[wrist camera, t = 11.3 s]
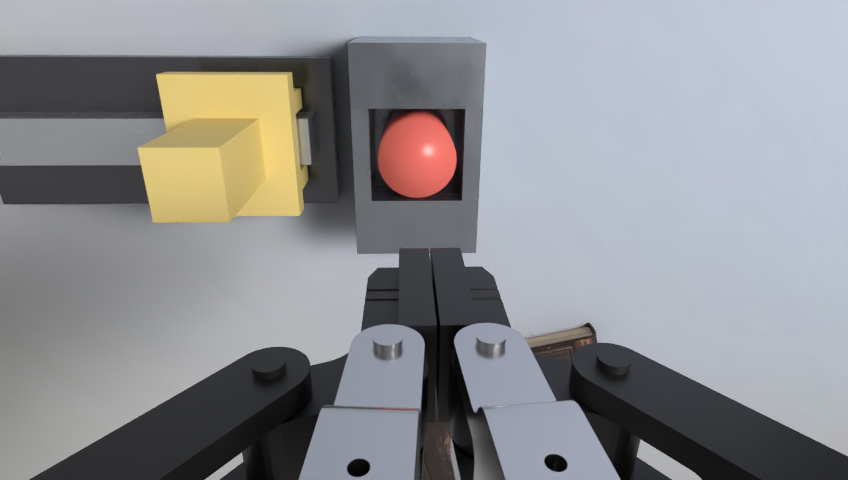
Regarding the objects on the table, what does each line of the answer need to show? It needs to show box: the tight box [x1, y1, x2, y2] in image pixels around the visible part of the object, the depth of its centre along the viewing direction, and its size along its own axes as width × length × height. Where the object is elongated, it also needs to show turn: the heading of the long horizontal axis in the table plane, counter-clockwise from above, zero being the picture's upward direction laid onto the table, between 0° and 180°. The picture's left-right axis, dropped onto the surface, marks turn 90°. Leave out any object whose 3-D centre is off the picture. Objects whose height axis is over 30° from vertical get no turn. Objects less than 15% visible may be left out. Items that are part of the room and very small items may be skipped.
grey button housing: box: [347, 37, 486, 254], centre depth 27 cm, size 10×6×6 cm, turn 0°
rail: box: [0, 55, 340, 204], centre depth 28 cm, size 8×19×3 cm, turn 90°
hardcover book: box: [423, 323, 597, 480], centre depth 40 cm, size 16×23×2 cm
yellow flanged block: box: [138, 72, 308, 223], centre depth 24 cm, size 7×6×9 cm
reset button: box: [378, 109, 457, 198], centre depth 26 cm, size 4×4×5 cm
